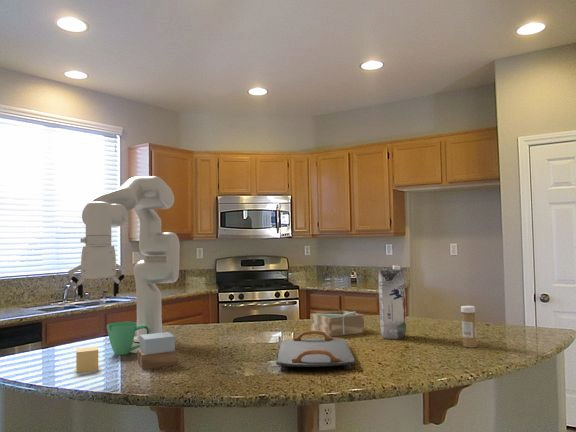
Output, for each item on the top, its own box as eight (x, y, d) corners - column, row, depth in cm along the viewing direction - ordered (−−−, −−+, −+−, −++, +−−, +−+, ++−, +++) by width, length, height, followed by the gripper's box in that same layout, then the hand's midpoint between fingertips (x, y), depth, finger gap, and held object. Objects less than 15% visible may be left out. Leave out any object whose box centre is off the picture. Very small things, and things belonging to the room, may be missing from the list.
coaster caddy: (310, 330, 201) (310, 313, 201) (343, 326, 208) (343, 310, 208) (329, 336, 186) (329, 318, 187) (364, 332, 193) (363, 314, 194)
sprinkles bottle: (479, 346, 161) (477, 306, 162) (471, 348, 159) (469, 307, 160) (468, 344, 165) (466, 305, 166) (459, 346, 163) (457, 306, 164)
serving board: (358, 374, 133) (357, 351, 133) (274, 376, 133) (274, 353, 134) (345, 345, 172) (344, 327, 172) (280, 346, 172) (280, 329, 172)
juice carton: (379, 339, 179) (376, 266, 181) (384, 334, 189) (382, 265, 190) (403, 340, 176) (400, 266, 177) (407, 335, 185) (404, 264, 187)
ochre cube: (76, 368, 147) (76, 348, 148) (97, 365, 150) (97, 346, 150) (76, 372, 142) (76, 352, 142) (98, 370, 144) (98, 349, 145)
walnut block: (137, 363, 153) (137, 349, 153) (169, 359, 157) (169, 345, 157) (142, 370, 144) (142, 355, 144) (175, 366, 148) (175, 351, 148)
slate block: (139, 349, 152) (139, 335, 153) (168, 345, 157) (167, 331, 157) (145, 354, 144) (145, 339, 145) (175, 350, 149) (174, 336, 149)
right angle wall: (356, 329, 199) (355, 311, 199) (343, 334, 189) (343, 315, 189) (330, 328, 205) (330, 310, 206) (317, 332, 195) (316, 314, 196)
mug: (103, 357, 161) (103, 326, 162) (111, 350, 171) (111, 322, 172) (147, 355, 163) (147, 325, 163) (153, 348, 172) (153, 320, 173)
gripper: (67, 241, 143) (67, 300, 141) (128, 240, 150) (129, 296, 148) (68, 242, 150) (67, 298, 148) (126, 241, 156) (126, 294, 155)
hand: (98, 297), depth 148 cm, fingers open, 9 cm apart
